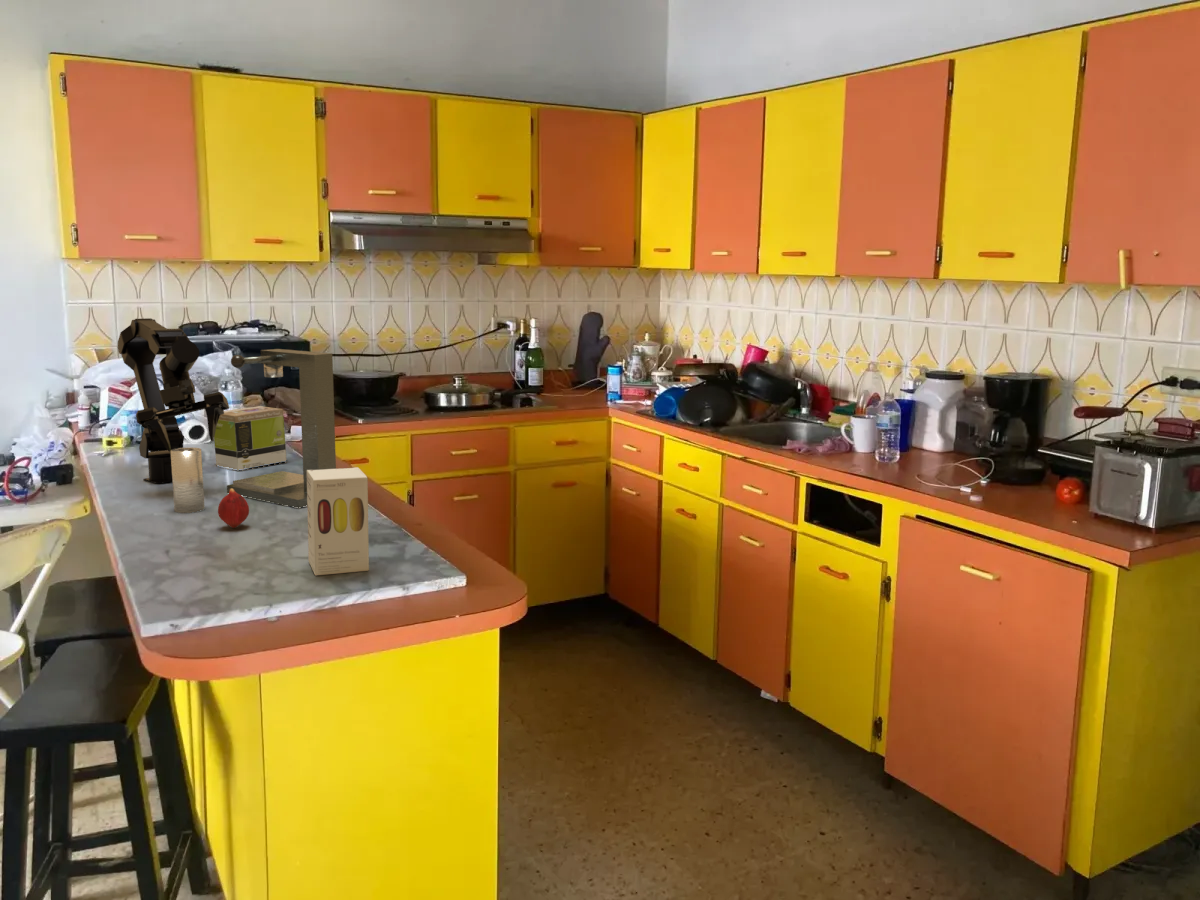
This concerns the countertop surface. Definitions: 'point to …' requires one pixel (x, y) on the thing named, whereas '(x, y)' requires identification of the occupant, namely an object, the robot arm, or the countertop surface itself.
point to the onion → (233, 509)
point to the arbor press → (313, 422)
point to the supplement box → (337, 520)
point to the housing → (187, 480)
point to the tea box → (250, 437)
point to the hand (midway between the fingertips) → (190, 445)
